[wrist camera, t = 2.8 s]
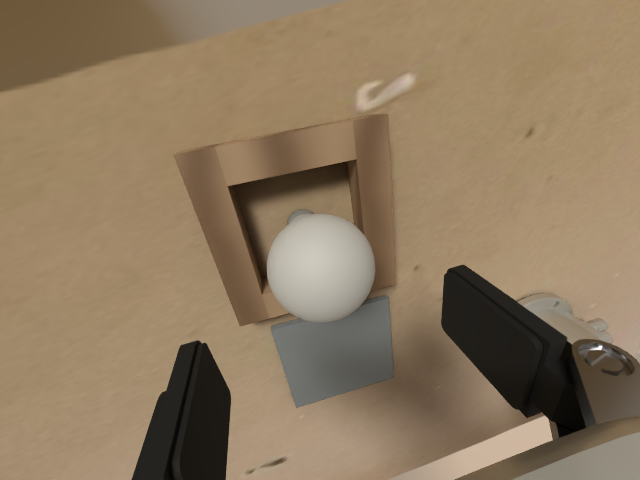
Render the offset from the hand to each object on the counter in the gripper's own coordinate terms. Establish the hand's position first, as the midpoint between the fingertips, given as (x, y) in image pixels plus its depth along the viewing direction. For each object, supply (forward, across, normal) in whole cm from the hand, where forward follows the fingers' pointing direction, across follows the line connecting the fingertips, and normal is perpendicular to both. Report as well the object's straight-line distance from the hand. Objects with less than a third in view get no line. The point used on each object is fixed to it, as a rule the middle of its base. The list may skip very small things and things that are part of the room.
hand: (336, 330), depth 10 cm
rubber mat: (+13, -2, +17) cm, 21 cm away
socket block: (+13, -1, +1) cm, 13 cm away
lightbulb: (+14, -1, +1) cm, 14 cm away
